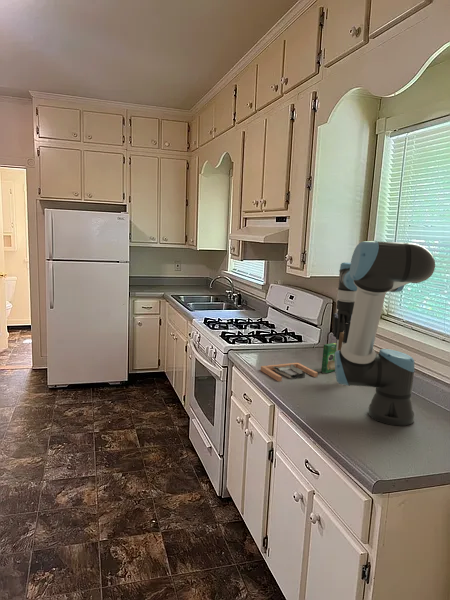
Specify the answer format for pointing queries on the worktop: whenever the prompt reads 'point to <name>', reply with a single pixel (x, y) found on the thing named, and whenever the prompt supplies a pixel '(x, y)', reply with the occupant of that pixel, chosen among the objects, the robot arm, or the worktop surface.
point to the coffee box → (328, 356)
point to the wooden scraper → (341, 338)
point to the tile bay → (277, 377)
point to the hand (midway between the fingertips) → (341, 355)
